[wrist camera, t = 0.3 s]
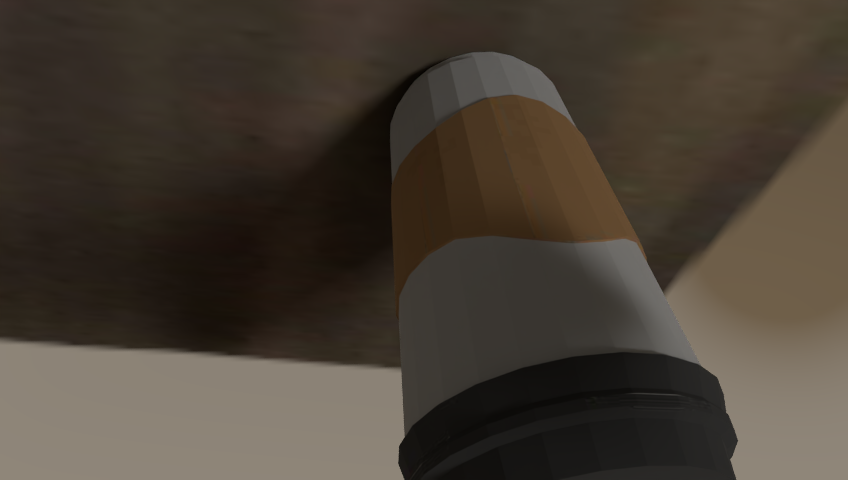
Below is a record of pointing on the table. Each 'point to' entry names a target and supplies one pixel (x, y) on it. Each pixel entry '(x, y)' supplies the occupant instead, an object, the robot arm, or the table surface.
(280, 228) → the table surface
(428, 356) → the coffee cup
